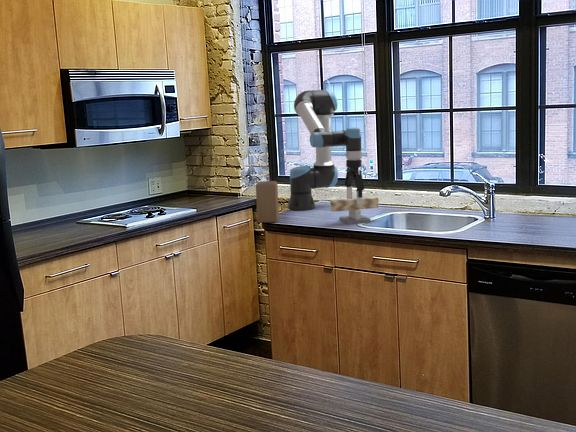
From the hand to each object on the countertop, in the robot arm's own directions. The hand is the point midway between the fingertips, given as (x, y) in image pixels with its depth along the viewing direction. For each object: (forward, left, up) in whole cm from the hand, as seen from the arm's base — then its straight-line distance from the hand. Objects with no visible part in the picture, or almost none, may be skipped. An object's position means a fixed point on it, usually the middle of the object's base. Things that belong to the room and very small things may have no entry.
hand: (354, 201), depth 334 cm
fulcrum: (0, 0, -10) cm, 10 cm away
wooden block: (-19, -40, -10) cm, 45 cm away
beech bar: (0, 0, -4) cm, 4 cm away
